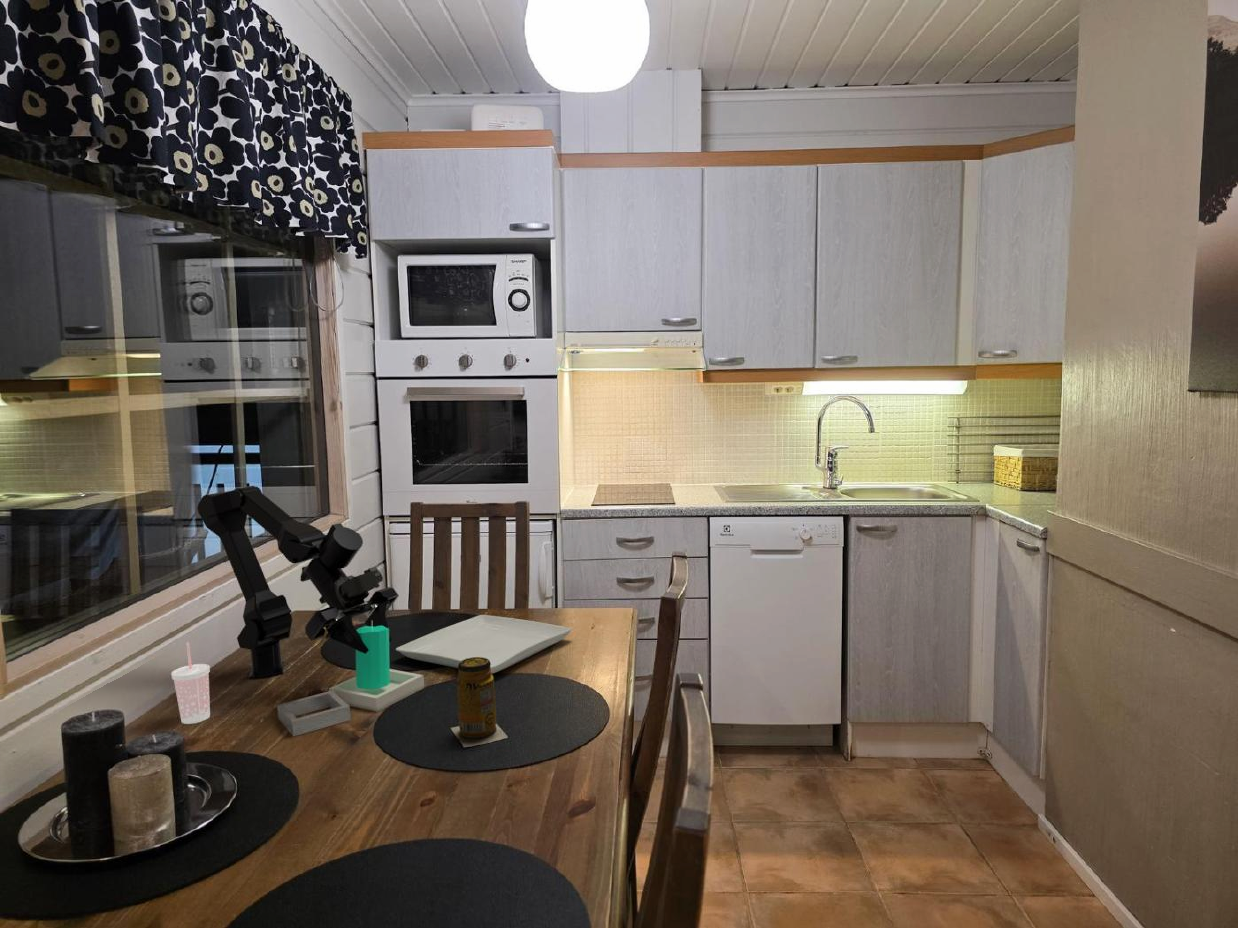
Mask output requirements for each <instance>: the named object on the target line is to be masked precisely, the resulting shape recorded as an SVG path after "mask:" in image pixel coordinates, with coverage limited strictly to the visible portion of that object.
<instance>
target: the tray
mask: <svg viewBox="0 0 1238 928" xmlns="http://www.w3.org/2000/svg"><path fill="white" fill-rule="evenodd" d="M424 679H425V676H424V674H419V673H413V672H409V671H403V670H397V669H392V668H390V684H389V685H387V686H385V687H382V688H378V689H360V688H357V686H356V676H354V677H352V678H349V679H347V680H345V681H342V682H341V683H338V684H335V685H334V686H332V687H331V686H330V687H329V688H328V692H329V691H333V692H334V693H336V694H337V695H338V696H339V697H340V698H341V699H342V700H343V701H344V702H346V703H347V704H348V705H349V706H350V707H354V708H359V709H362V710H367V711H371V712H375V713H377V712H381V711H382V710H383V709H386V708H388V707H390V706H392V705H393V704H396V703H397V702H399V701H400V702H401V700H403V699H405V698H407V697H409V696H412V695H413V694H415V693H417V692H419V691H421V690H423V689H425V680H424Z"/></svg>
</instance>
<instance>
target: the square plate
mask: <svg viewBox="0 0 1238 928" xmlns="http://www.w3.org/2000/svg"><path fill="white" fill-rule="evenodd" d="M572 630H573V627H569V626H563V625H556V624H552V623H551V624H550V623H546V622H540V621H534V620H533V621H532V620H526V619H520V618H513V617H505V616H497V615H487V614H480V615H476V616H473V617H471V618H469V619H466V620H463V621H460V622H457V623H455V624H452V625H449V626H446V627H443V628H441V629H438V630H435V631H433V632H430V633H428V634H426V635H423V636H421V637H419V638H416V639H414V640H411V641H409V642H407V643H404V644H403V645H400V646H398V647H396V648H395V651H397V652H399V653H400V654H402V655H403V656H405V657H407V658H410V659H413V660H417V661H421V662H425V663H432V664H436V665H442V666H445V667H450V668H451V667H452V668H455V669H458V665H459V663H460V662H461V661H462V660H464V659H467V658H472V657H483V658H487V659H488V660H489V661H490V663H491V665H490V668H491V674H492V675H493V674H495V673H498V672H500V671H503V670H505V669H507V668H510V667H511V666H513V665H515V664H517V663H519V662H521V661H523V660H525V659H526V658H529V657H531V656H533V655H535V654H536V653H539V652H541V651H543V650H544V649H547V648H548V647H550V646H552V645H555V644H556V643H558V642H560V641H562V640H563V639H565V638H566V637H567V636H568V635H569V634H570V632H571V631H572Z"/></svg>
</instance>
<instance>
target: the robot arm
mask: <svg viewBox="0 0 1238 928" xmlns="http://www.w3.org/2000/svg"><path fill="white" fill-rule="evenodd" d="M197 513H198V515H199V516H200V518H201V520H202V522H203V524H204V526H205V527H206V528H207V530H209V531H211V532H212V533H213V534H214V535H216V536H217V537H219V539H220V541H221V544H222V546H223V549H224V551H225V554H226V556H227V558H228V561H229V564H230V565H231V568H232V570H233V573H234V575H235V578H236V581H237V583H238V585H239V588H240V590H241V593H242V596H243V597H244V601H245V605H244V609H243V614H242V618H243V622H244V626H243V628H242V629H241V631H240V633H239V634H238V636H236V640H237V643H238V646H239V648H240V649H244V650H245V649H246V650H249V651H250V661H251V669H250V670H249V674H248V679H256V678H263V677H269V676H271V677H272V676H278V675H283V674H284V673H285V669H286V661H283V659H282V647H281V641H282V640H285V639H289V638H290V635H291V628H292V623H293V617H292V614H291V613H292V609H291V608H290V607H289V604H288V601H287V598H286V596H285V594H280V595H277V594H276V593H274V592H273V591H272V590H271V589H270V587H269V584H268V581H267V579H266V577H265V574H264V571H263V569H262V567H261V564H260V562H259V560H258V559H259V558H258V556H257V555H256V552H255V550H254V547H253V545H252V542H251V540H250V538H249V535H248V533H247V531H246V522H247V518H248V517H250V518H251V519H252V520H253V521H255V522H256V524H258V525H259V526H260V527H262V528H263V529H264V531H266V532H268V533H269V534H270V535H271V536H272V537H273V538H274V539H275V540H276V541H277V549H278V551H279V552H280V553H281V554H282V555H283V556H284V557H285V558H286V560H287V561H288V562H290V563H292V564H298V563H303V562H307V561H309V563H308V564H307V565H306V566H302V567H301V573H300V579H299V580H300V581H301V582H307V581H310V582H311V583H312V584H313V586H314V587H315V589H316V591H318V593H319V594H320V595H321V596H320V598H319V599H318V601H319V603H320V604H321V605H323V604H327V606H328V607H325V608H322V609H319V610H317V611H315V612H314V614H313V615H312V617H311V618H310V619H309V620H308V622H307V623H306V624H305V626H304V627H305V630H304V631H305V634H306V636H307V637H308V639H309V640H310V641H311V642H313V641H314V640H317V639H320V638H323V637H324V636H325V639H326V640H329V639H332V640H334V641H337V642H339V643H341V644H343V645H345V646H348V647H349V648H352V649H353V650H355V651H356V650H358V651H360V652H363V653H364V654H366V653H367V652H368V651H369V650H368V648H367V647H366V645H365V644H364V643H363V641H362V639H361V637H360V635H359V634H358V632H357V631H356V630H357V629H356V628H355V626H354V624H353V622H354V621H353V617H357V616H359V615H363V614H364V616H365V617H366V618H367V619H366V621H364V624H365V626H372V624H373V627H375V626H381V625H382V626H384V627H386V628H389V625H388V622H387V621H388V620H387V615H386V613H387V612H388V610H389V609H390V608H391V607H392V606H393V604H394V603H395V602H396V600H397V599H398V597H399V595H400V594H398V593H397V591H396V590H395V588H394V587H390V586H387V587H385V588H382V589H378V588H379V587H380V583H381V582H383V581H384V580H383V579H384V577H383V575H382V573H381V571H380V570H379V569H378V568H377V566H372V567H369V568H368V569H366V570H364V571H363V574H362V573H361V574H360V575H359V574H358V575H357V576H353V574H352V575H349V576H348V575H347V574H346V573H345V572H344V570H343V569H345V568H346V567H348V566H349V565H350V563H351V562H352V560H354V558H355V556H356V555H357V554H358V553H359V551H360V549H362V546H363V544H364V543H363V542H364V540H363V538H362V536H361V534H360V533H359V532H357V531H355V530H354V529H352V528H349V527H346V526H345V527H344V525H343V524H342V523H341V522H340V523H334V524H331V526H330V528H329V529H328V531H327V533H326V534H325V533H324V532H323V531H322V530H320V529H319V528H317V527H315V526H314V525H311V524H309V523H305V522H301V521H297V520H296V519H294V518H293V517H291V516H290V515H289V514H288V513H287V512H285V510H283V509H282V508H280V507H279V506H278V505H277V504H276V503H275V502H273V501H272V500H271V499H270V498H269V497H268V496H266V495H265V494H263V492H262V490H261V488H260V487H258V486H255V485H249V486H243V487H237V488H234V489H232V490H227V491H222V492H221V491H220V492H215V493H208V494H205V495H202V497H201V498H200V500H199V502H198V504H197ZM373 589H378V590H376V591H374V593H372V595H371V597H370V598H369V599H368V600H366V601H365V599H366V598H368V597H369V596H370V591H372V590H373ZM326 631H327V634H326V635H325V633H326ZM392 640H393V639H392V637H391V632H390V631H389V645H390V644H391V643H392Z"/></svg>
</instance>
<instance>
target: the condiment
mask: <svg viewBox="0 0 1238 928" xmlns="http://www.w3.org/2000/svg"><path fill="white" fill-rule="evenodd" d="M490 665H491V663H490V661H489V660H488V659H487V658H483V657H472V658H467V659H464V660H462V661H461V662H460V663H459V665H458V668H457V669H458V673H457V676H458V678H457V680H456V691H457V693H456V695H457V707H458V708H457V711H458V722H459V723H458V724H459V725H458V726H454V727H450V729H451V731H452V732H453V734H454V735H455V737H456V738H457V739H458V741H459V742H460V744H461V745H462V747H463V748H468V747H470V748H471V747H475V746H478V745H479V746H480V745H481V746H482V745H484V744H488V743H489V744H490V743H494V742H495V741H501V740H504V739H505V740H506V739H508V738H509V737H508V735H507V734H506V732H505V731H503V729H502V728H501V727H500V726H499V725H498V723H497V707H496V705H497V704H496V697H495V696H496V695H495V694H496V693H495V689H496V687H495V678H494V675H493V673H492V674H491V668H490Z"/></svg>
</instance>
